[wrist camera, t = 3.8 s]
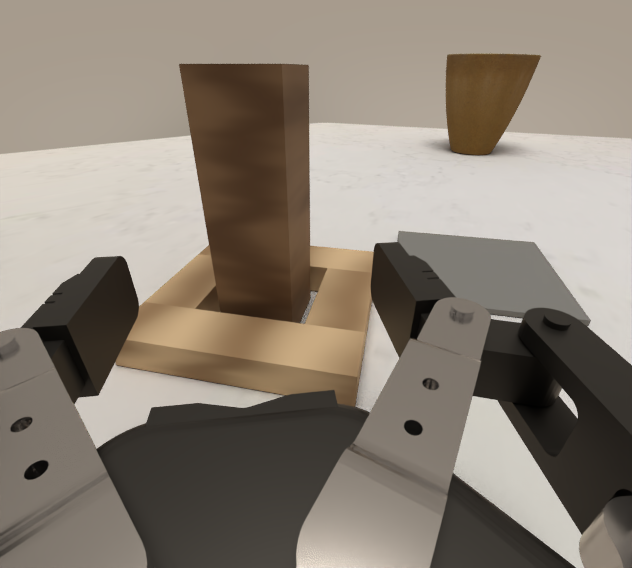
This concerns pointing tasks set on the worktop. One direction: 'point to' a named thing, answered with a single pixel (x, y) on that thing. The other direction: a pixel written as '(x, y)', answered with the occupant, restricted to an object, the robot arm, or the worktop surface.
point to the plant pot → (484, 97)
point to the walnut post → (254, 182)
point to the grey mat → (494, 273)
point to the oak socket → (259, 331)
